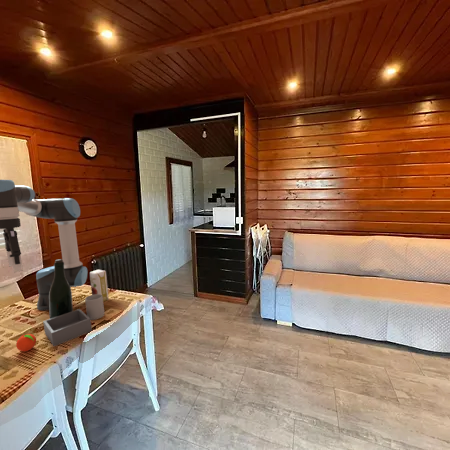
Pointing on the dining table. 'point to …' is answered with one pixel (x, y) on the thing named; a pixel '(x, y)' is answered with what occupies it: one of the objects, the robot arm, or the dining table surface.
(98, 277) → the juice carton
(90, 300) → the mug
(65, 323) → the bin
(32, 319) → the dining table surface
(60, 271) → the wine bottle
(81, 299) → the dining table surface
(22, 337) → the tomato
